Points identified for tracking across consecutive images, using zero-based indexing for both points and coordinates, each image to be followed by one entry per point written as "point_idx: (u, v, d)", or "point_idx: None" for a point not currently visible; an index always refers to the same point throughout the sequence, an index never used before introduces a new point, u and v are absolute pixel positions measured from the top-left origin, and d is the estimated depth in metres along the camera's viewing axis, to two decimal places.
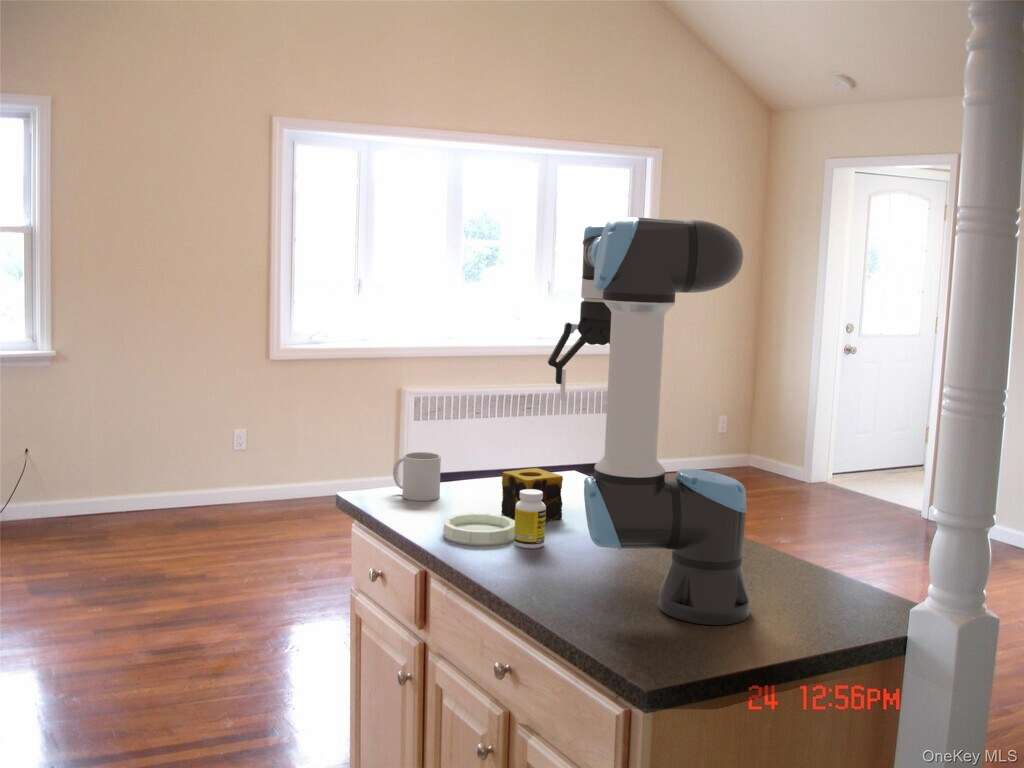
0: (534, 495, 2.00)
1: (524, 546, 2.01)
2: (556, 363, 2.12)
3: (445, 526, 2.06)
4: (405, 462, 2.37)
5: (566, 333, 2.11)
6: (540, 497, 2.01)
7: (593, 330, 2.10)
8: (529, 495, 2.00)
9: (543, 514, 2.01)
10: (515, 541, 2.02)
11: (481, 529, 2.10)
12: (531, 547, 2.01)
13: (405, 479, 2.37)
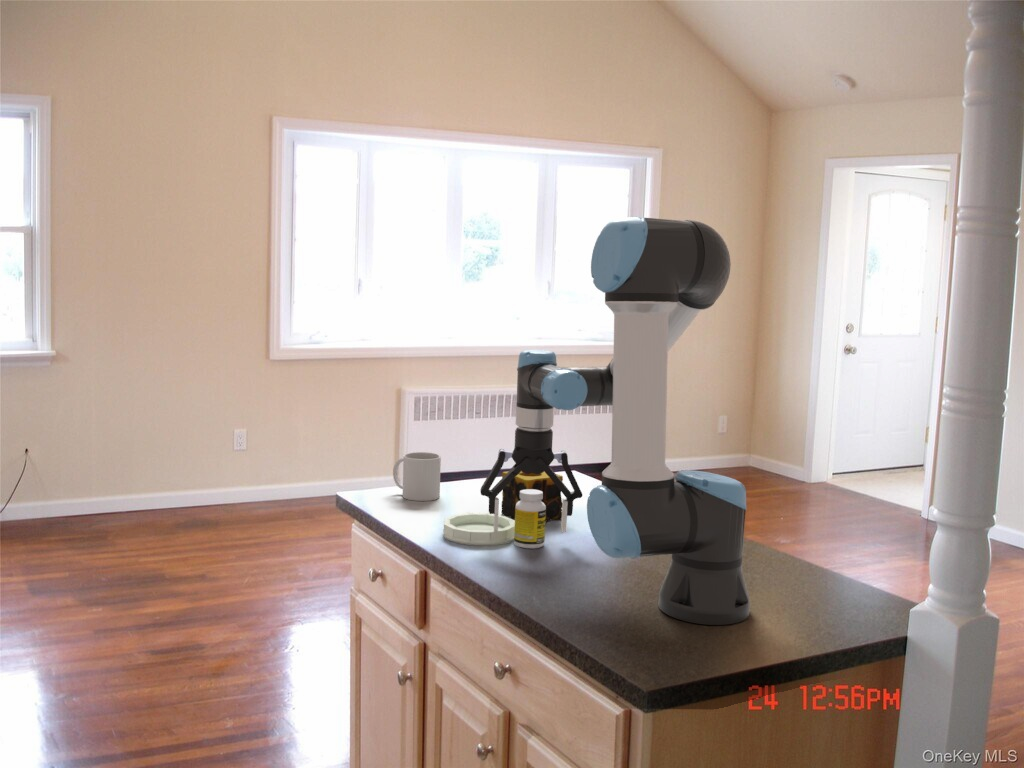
0: (534, 495, 2.00)
1: (524, 546, 2.01)
2: (489, 492, 2.01)
3: (445, 526, 2.06)
4: (405, 462, 2.37)
5: (499, 462, 2.00)
6: (540, 497, 2.01)
7: (528, 459, 2.00)
8: (529, 495, 2.00)
9: (543, 514, 2.01)
10: (515, 541, 2.02)
11: (481, 529, 2.10)
12: (531, 547, 2.01)
13: (405, 479, 2.37)
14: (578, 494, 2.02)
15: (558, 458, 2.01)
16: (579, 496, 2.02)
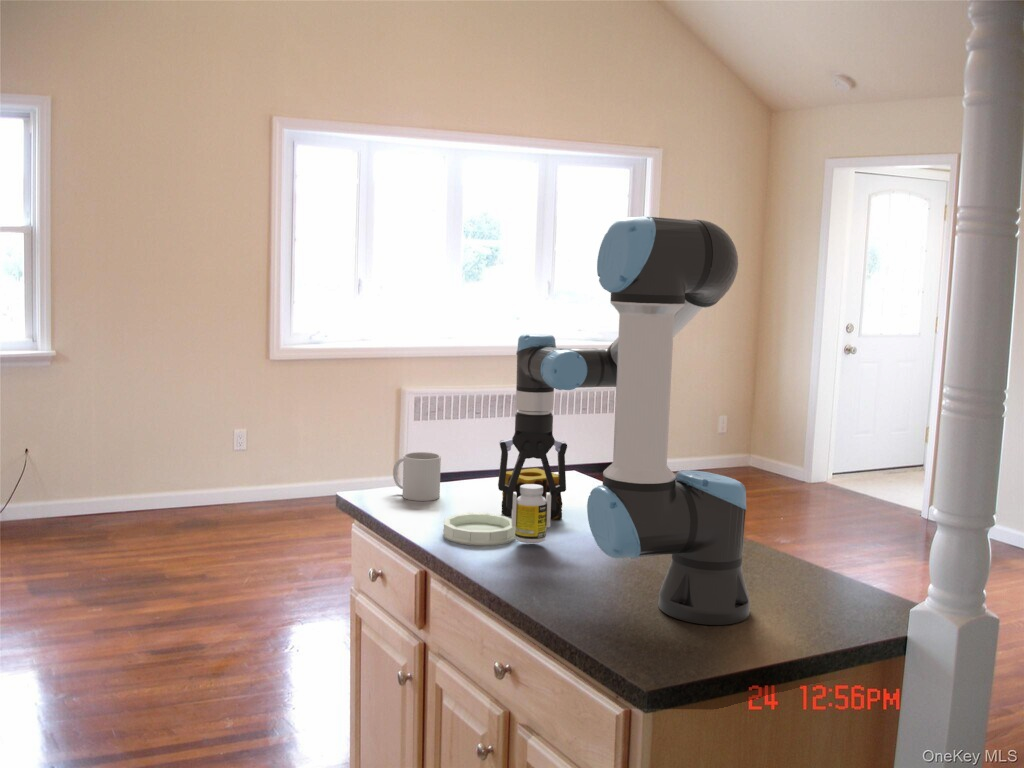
0: (534, 489, 2.00)
1: (525, 541, 2.00)
2: (506, 487, 2.01)
3: (445, 526, 2.06)
4: (405, 462, 2.37)
5: (503, 453, 2.00)
6: (540, 491, 2.01)
7: (528, 443, 1.99)
8: (529, 489, 2.00)
9: (543, 508, 2.01)
10: (516, 536, 2.02)
11: (481, 529, 2.10)
12: (532, 542, 2.00)
13: (405, 479, 2.37)
14: (562, 487, 2.01)
15: (557, 446, 2.01)
16: (562, 490, 2.01)
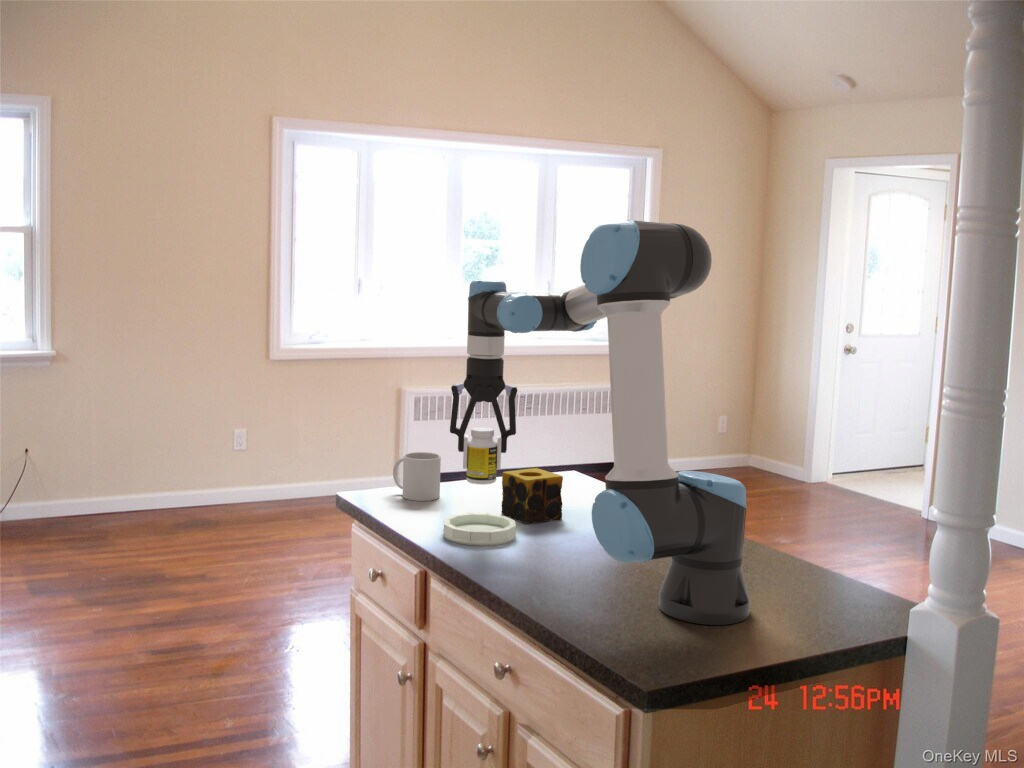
0: (485, 432, 2.04)
1: (475, 482, 2.05)
2: (458, 430, 2.05)
3: (445, 526, 2.06)
4: (405, 462, 2.37)
5: (455, 396, 2.04)
6: (491, 434, 2.05)
7: (478, 387, 2.03)
8: (480, 432, 2.04)
9: (494, 451, 2.05)
10: (467, 478, 2.06)
11: (481, 529, 2.10)
12: (482, 483, 2.05)
13: (405, 479, 2.37)
14: (512, 431, 2.05)
15: (508, 390, 2.05)
16: (512, 433, 2.05)
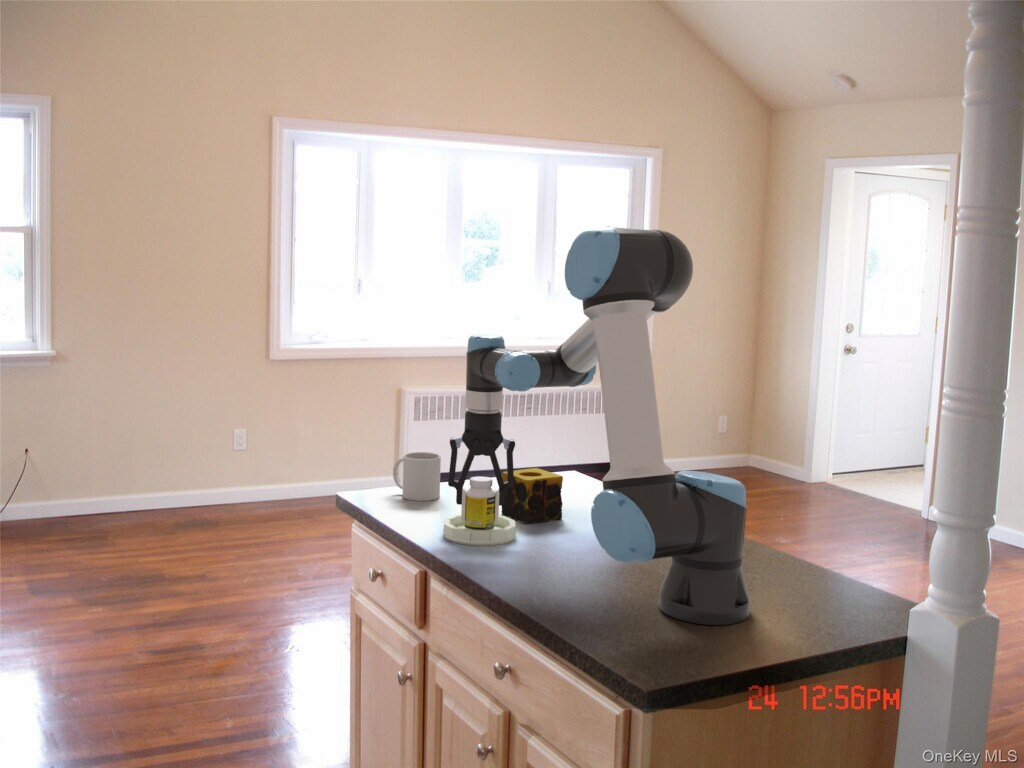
0: (483, 482, 2.06)
1: None
2: (456, 483, 2.07)
3: (445, 526, 2.06)
4: (405, 462, 2.37)
5: (453, 450, 2.05)
6: (489, 484, 2.06)
7: (476, 441, 2.05)
8: (478, 482, 2.06)
9: (492, 500, 2.06)
10: (465, 527, 2.08)
11: None
12: None
13: (405, 479, 2.37)
14: (510, 484, 2.07)
15: (506, 444, 2.07)
16: (510, 486, 2.07)
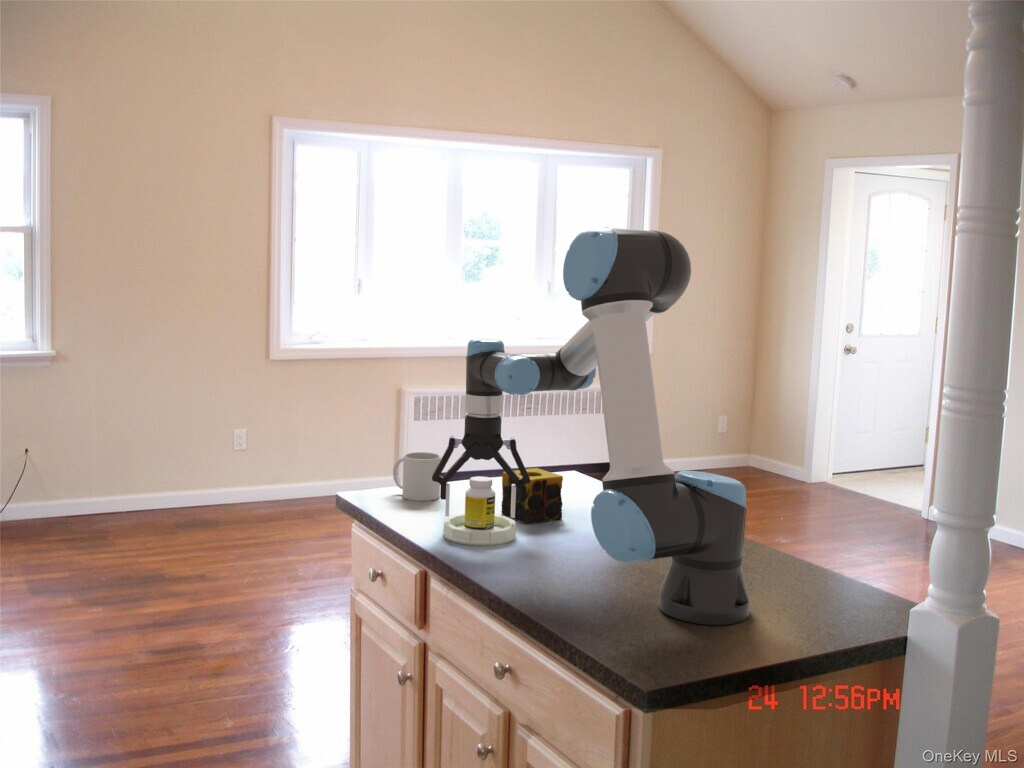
0: (483, 482, 2.06)
1: None
2: (440, 478, 2.06)
3: (445, 526, 2.06)
4: (405, 462, 2.37)
5: (449, 448, 2.05)
6: (489, 484, 2.06)
7: (477, 445, 2.05)
8: (478, 482, 2.06)
9: (492, 500, 2.06)
10: (465, 527, 2.08)
11: None
12: None
13: (405, 479, 2.37)
14: (526, 480, 2.07)
15: (507, 444, 2.07)
16: (527, 482, 2.07)
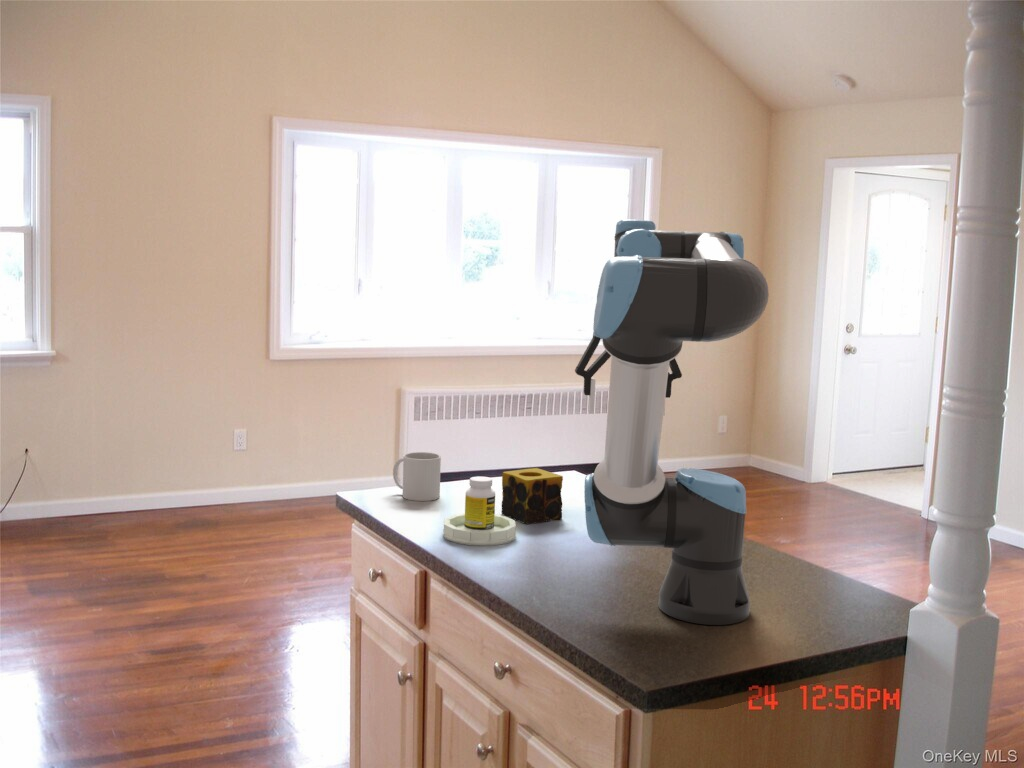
0: (483, 482, 2.06)
1: None
2: (584, 372, 1.91)
3: (445, 526, 2.06)
4: (405, 462, 2.37)
5: (596, 339, 1.90)
6: (489, 484, 2.06)
7: None
8: (478, 482, 2.06)
9: (492, 500, 2.06)
10: (465, 527, 2.08)
11: None
12: None
13: (405, 479, 2.37)
14: (677, 374, 1.91)
15: None
16: (678, 376, 1.91)
